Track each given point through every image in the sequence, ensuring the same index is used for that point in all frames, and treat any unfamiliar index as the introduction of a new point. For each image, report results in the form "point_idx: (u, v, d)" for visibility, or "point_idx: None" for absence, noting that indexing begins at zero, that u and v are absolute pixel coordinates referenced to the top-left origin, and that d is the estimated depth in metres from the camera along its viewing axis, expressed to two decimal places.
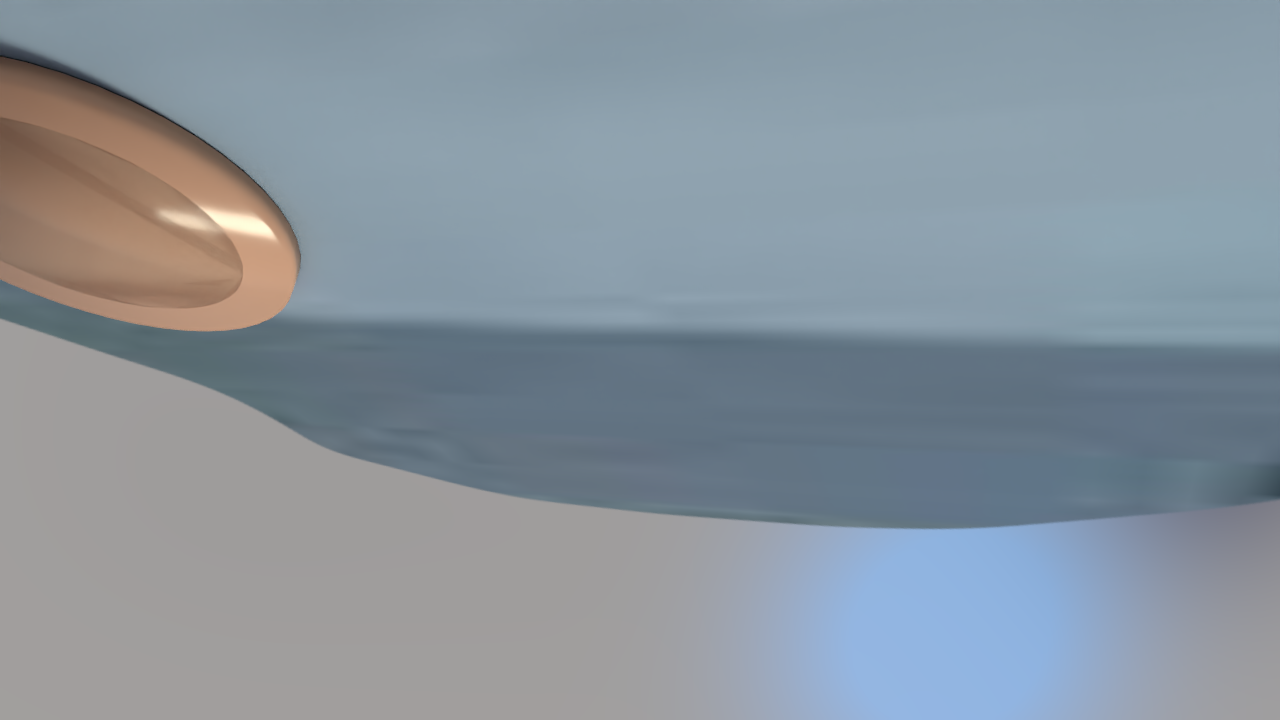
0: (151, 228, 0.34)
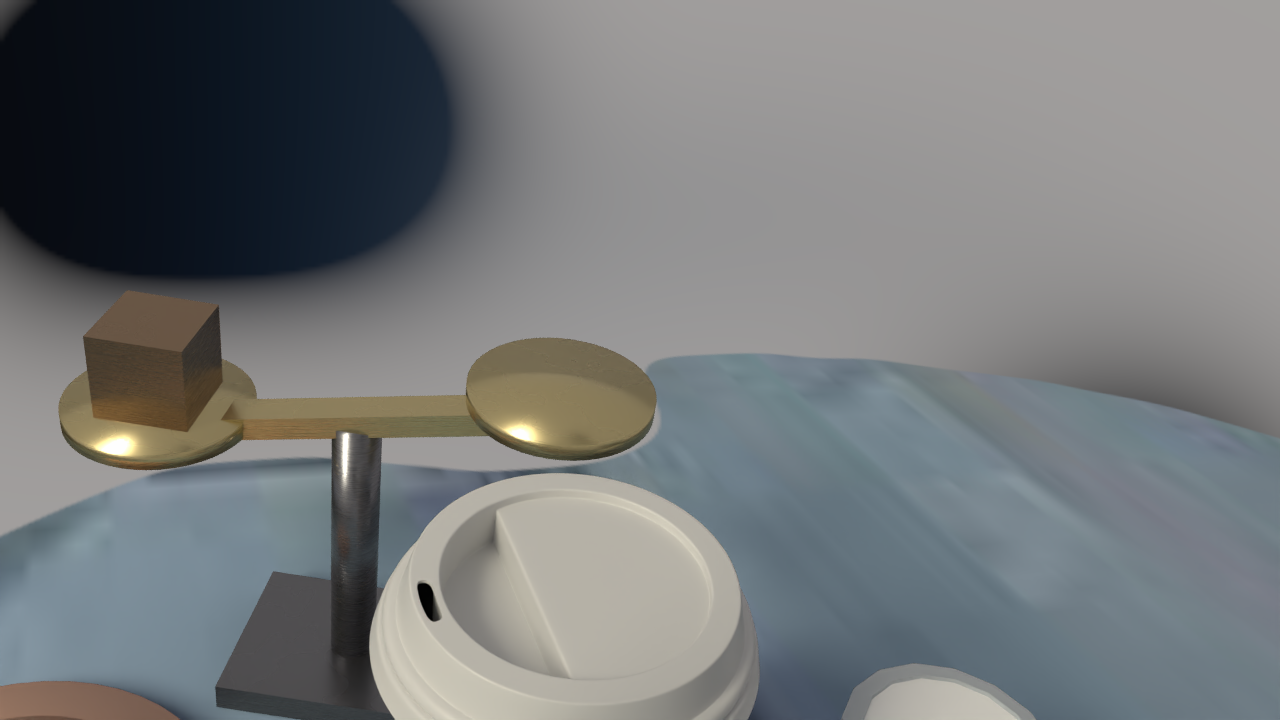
0: None
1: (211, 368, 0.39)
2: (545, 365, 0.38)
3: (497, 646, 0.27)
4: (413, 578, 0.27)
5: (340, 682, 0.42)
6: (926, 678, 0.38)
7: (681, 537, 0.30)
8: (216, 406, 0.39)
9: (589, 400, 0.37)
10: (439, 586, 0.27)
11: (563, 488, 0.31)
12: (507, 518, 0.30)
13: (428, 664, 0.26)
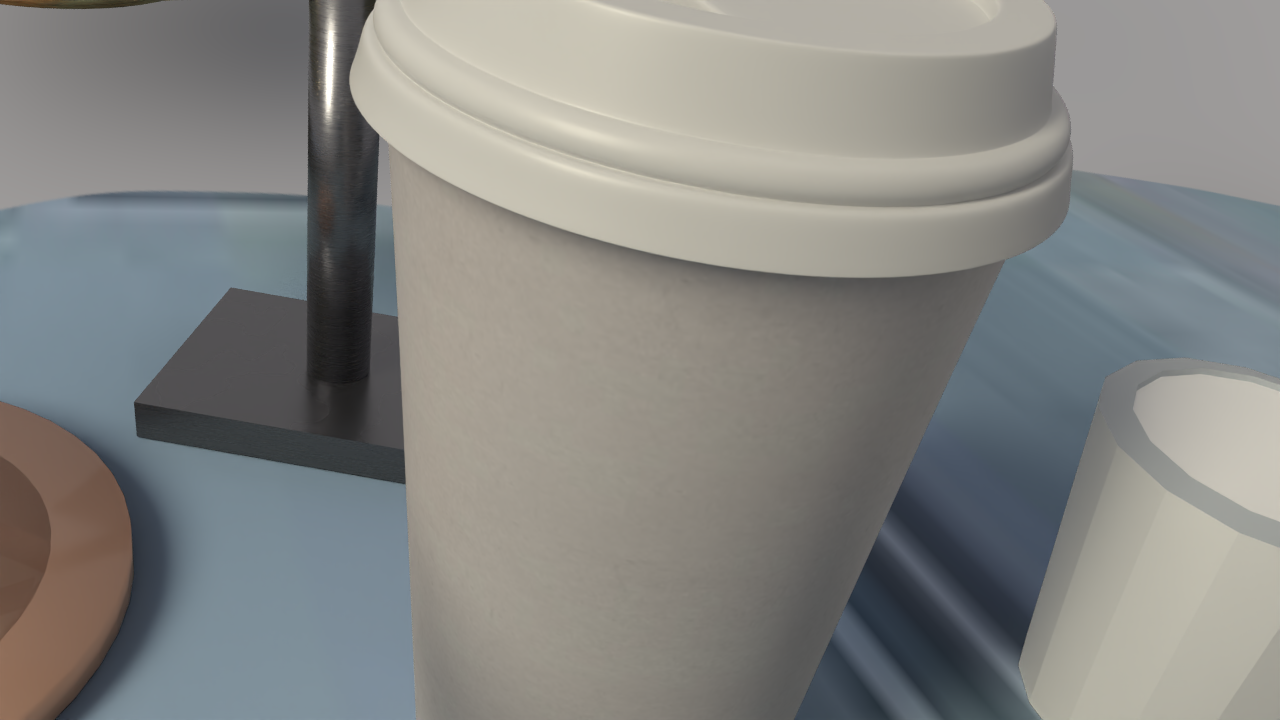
0: None
1: None
2: None
3: None
4: None
5: (317, 408, 0.29)
6: (1209, 374, 0.25)
7: None
8: None
9: None
10: None
11: None
12: None
13: (464, 17, 0.13)
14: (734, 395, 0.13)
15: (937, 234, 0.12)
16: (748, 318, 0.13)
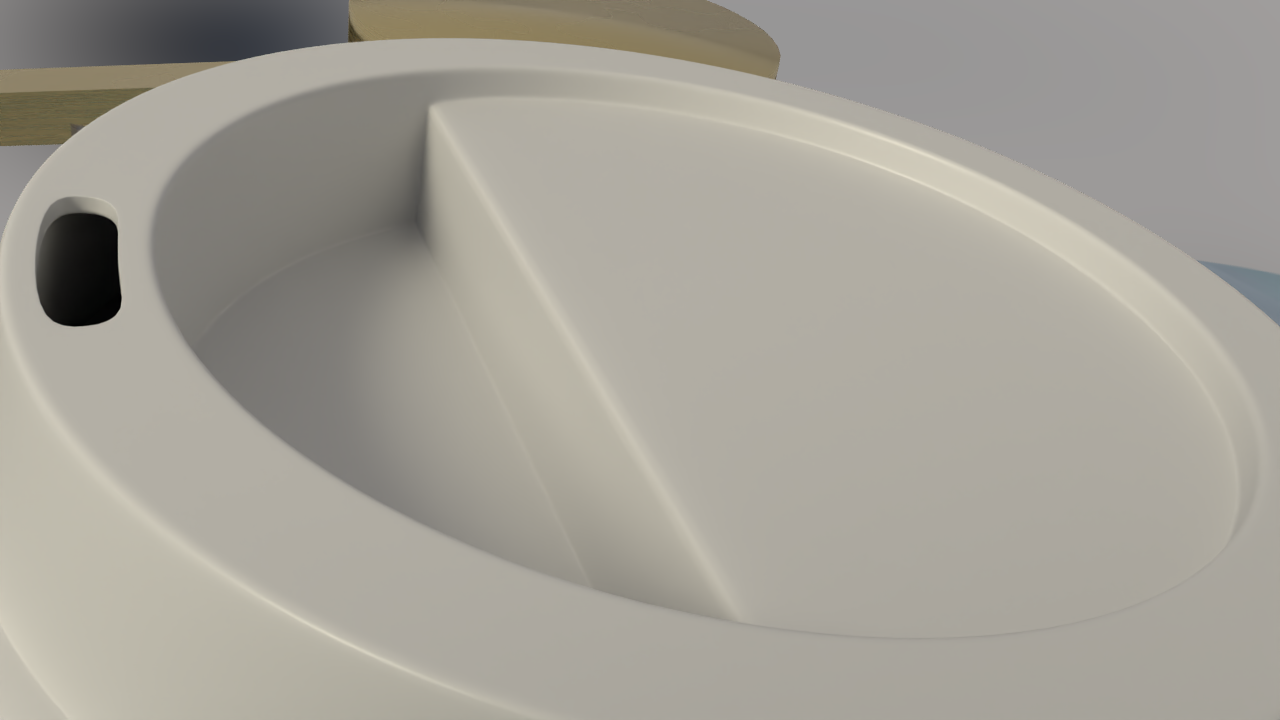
0: None
1: None
2: None
3: (393, 502, 0.07)
4: (43, 187, 0.06)
5: None
6: None
7: (1023, 215, 0.09)
8: None
9: (630, 39, 0.16)
10: (149, 221, 0.06)
11: (640, 79, 0.10)
12: (463, 123, 0.09)
13: (11, 528, 0.05)
14: None
15: None
16: None
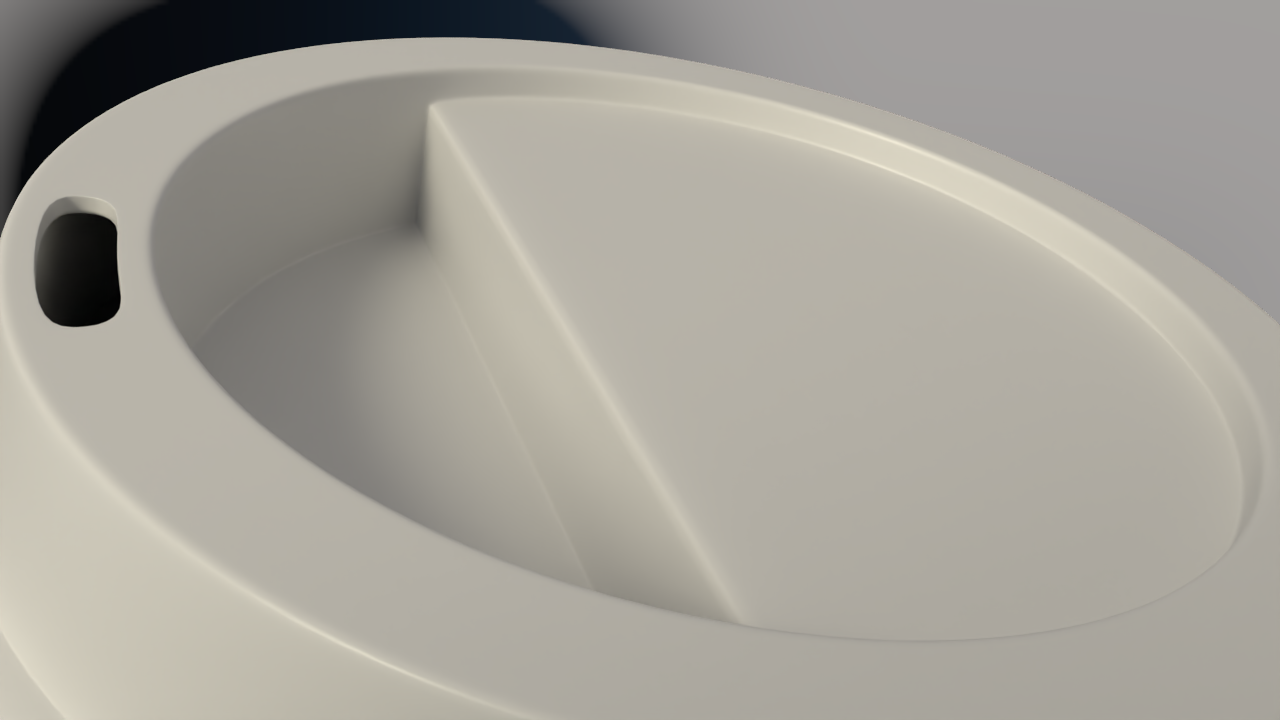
0: None
1: None
2: None
3: (393, 504, 0.07)
4: (42, 187, 0.06)
5: None
6: None
7: (1026, 215, 0.09)
8: None
9: None
10: (148, 221, 0.06)
11: None
12: (464, 122, 0.09)
13: (9, 530, 0.05)
14: None
15: None
16: None
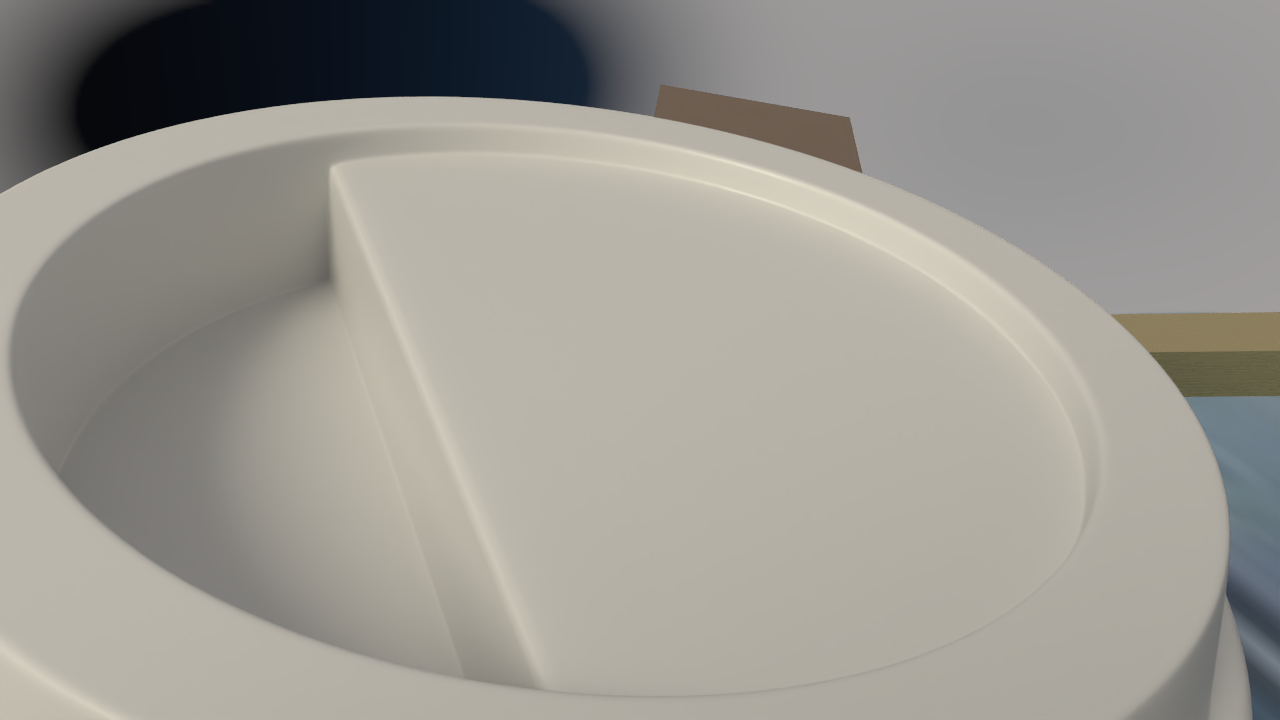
0: None
1: None
2: None
3: (267, 565, 0.07)
4: None
5: None
6: None
7: (914, 249, 0.09)
8: None
9: None
10: (14, 307, 0.07)
11: (543, 129, 0.10)
12: (362, 183, 0.09)
13: None
14: None
15: None
16: None
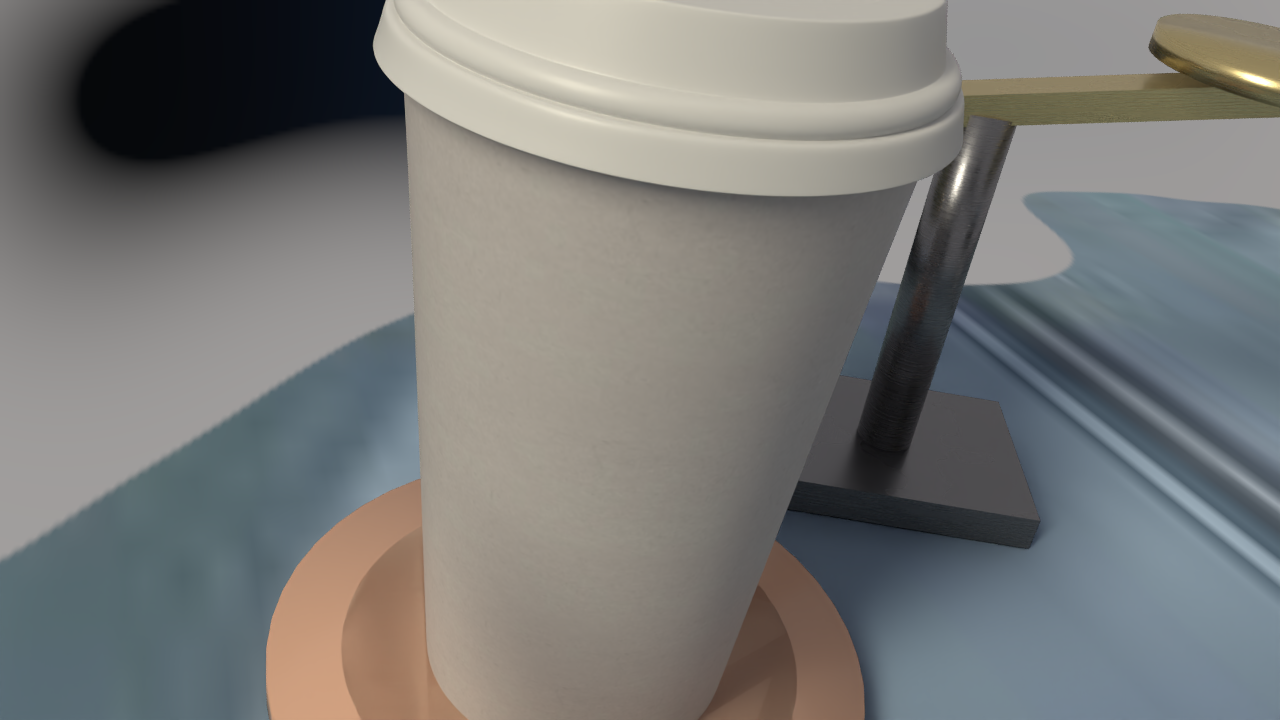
0: None
1: None
2: (1239, 34, 0.29)
3: None
4: None
5: (895, 474, 0.33)
6: None
7: None
8: None
9: None
10: None
11: None
12: None
13: None
14: (685, 296, 0.17)
15: (842, 162, 0.16)
16: (696, 232, 0.16)
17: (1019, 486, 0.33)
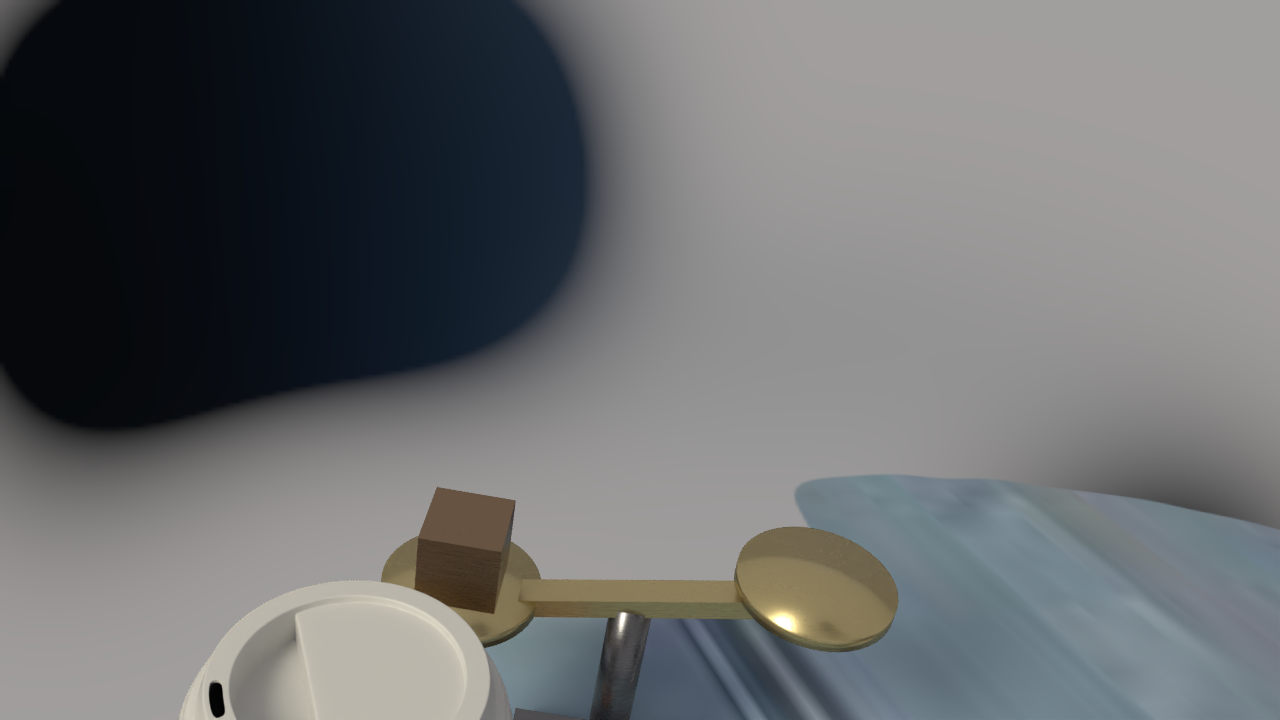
0: None
1: (506, 554, 0.45)
2: (797, 556, 0.44)
3: None
4: (207, 678, 0.32)
5: None
6: None
7: (451, 639, 0.35)
8: (509, 587, 0.45)
9: (842, 593, 0.43)
10: (228, 685, 0.32)
11: (357, 594, 0.36)
12: (303, 621, 0.35)
13: None
14: None
15: None
16: None
17: None
